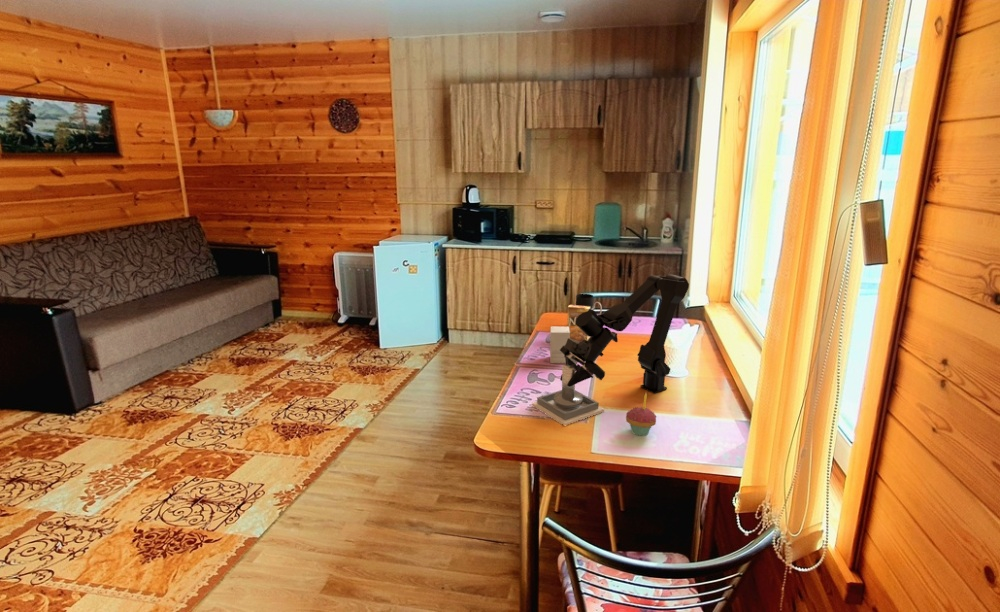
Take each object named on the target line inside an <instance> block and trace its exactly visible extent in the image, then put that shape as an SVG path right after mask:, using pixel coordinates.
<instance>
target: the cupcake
mask: <svg viewBox="0 0 1000 612" xmlns="http://www.w3.org/2000/svg"><path fill="white" fill-rule="evenodd" d="M643 396H644V397H643V405H642V407H641V406H640V407H638V406H637V407H633V408H631V409H630V410H628V411H627V412H626V416H625V419H626V422H627V423H628V424H629V426H630V430H631V432H632V434H634V435H636V434H637V435H636V436H640V435H644V436H647V435H648V434H649V432H650V430H651V428H652V427H653V426H655V425H657V416H656V414H655V412H654V411H653V410H650V409H649V408H647V407H646V403H647V396H648V394H647V391H645V394H644V395H643Z"/></svg>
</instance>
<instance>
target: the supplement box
mask: <svg viewBox="0 0 1000 612" xmlns="http://www.w3.org/2000/svg"><path fill="white" fill-rule="evenodd" d="M549 331H550V334H549V335H550V337H549V339H550V340H549V341H550V342H549V343H550V344H549V347H550V349H549V352H550V353H549V361H550V363H549V364H566V360H565V357H564V354H563V353H562V352H561V351H560V349H561V348H562V346H565V344H566V342H567V340H568V338H570V331H569V327H567V326H555V325H554V326H550V330H549Z"/></svg>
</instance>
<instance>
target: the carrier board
mask: <svg viewBox="0 0 1000 612" xmlns="http://www.w3.org/2000/svg"><path fill="white" fill-rule="evenodd" d="M558 392H562V389H560V390H558V391H554V392H552V393H548V394H545V395H541V396H538V397H537V399H536V401H534V402H532V403H531V406H532V405H533V406H534V407H536V408H537V409H536V408H535V409H536V410H538V409H539V410H541V411H542V412H544V413H546V414H547V415H548V416H547V415H546V414H545V415H546V416H547V417H549V416H550V417H552V418H553V419H552V418H551V419H552V420H554V421H555V420H556V421H555V422H557V421H558V422H559V423H558V422H557V423H558V424H560V423H561V424H560V425H562V424H563V425H564V426H563V425H562V426H563V427H566V426H568V425H567V424H569V425H571V424H570V423H572V424H574V423H573V422H575V421H577V422H579V421H578V420H580V421H582V419H583V420H585V418H586V419H588V418H591V417H593V415H594V416H596V414H597V415H599V414H602V413H604V412H605V409H604V408H603V407H602V406H600V405H599V404H600V403H599V401H596V400H595V399H592V398H591V397H589V396H587V395H585V394H583V393H581V392H579V391H578V390H576V389H575V392H576V393H579V394H580V395H581V396H582V397H583V403H582V405H581V406H579V407H576V408H562V407H559V406H557V405H556V404H555V403H554V395H555V394H556V393H558ZM533 406H532V407H533ZM534 407H533V408H534ZM539 410H538V411H539ZM541 411H540V412H541ZM601 412H602V413H601ZM544 413H543V414H544ZM590 416H591V417H590ZM550 417H549V418H550ZM587 417H588V418H587ZM575 423H576V422H575ZM565 425H566V426H565Z"/></svg>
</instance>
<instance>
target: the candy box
mask: <svg viewBox="0 0 1000 612" xmlns="http://www.w3.org/2000/svg"><path fill="white" fill-rule="evenodd" d="M589 309H590V306H580V305H576V304H569V305H568V306H567V324H566V325H567V326H566V327H569V331H570V339H572V340H575V341H578V342H582V341H583V340H588V339H589V338H590V336H587V335H586V334H585V333H584V332H583V331H582V330H581V329H580V328H579V327H578V326H577V325H576V319H577V317H578V316H579V315H581V314H582V313H583V312H587V311H588V310H589Z"/></svg>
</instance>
